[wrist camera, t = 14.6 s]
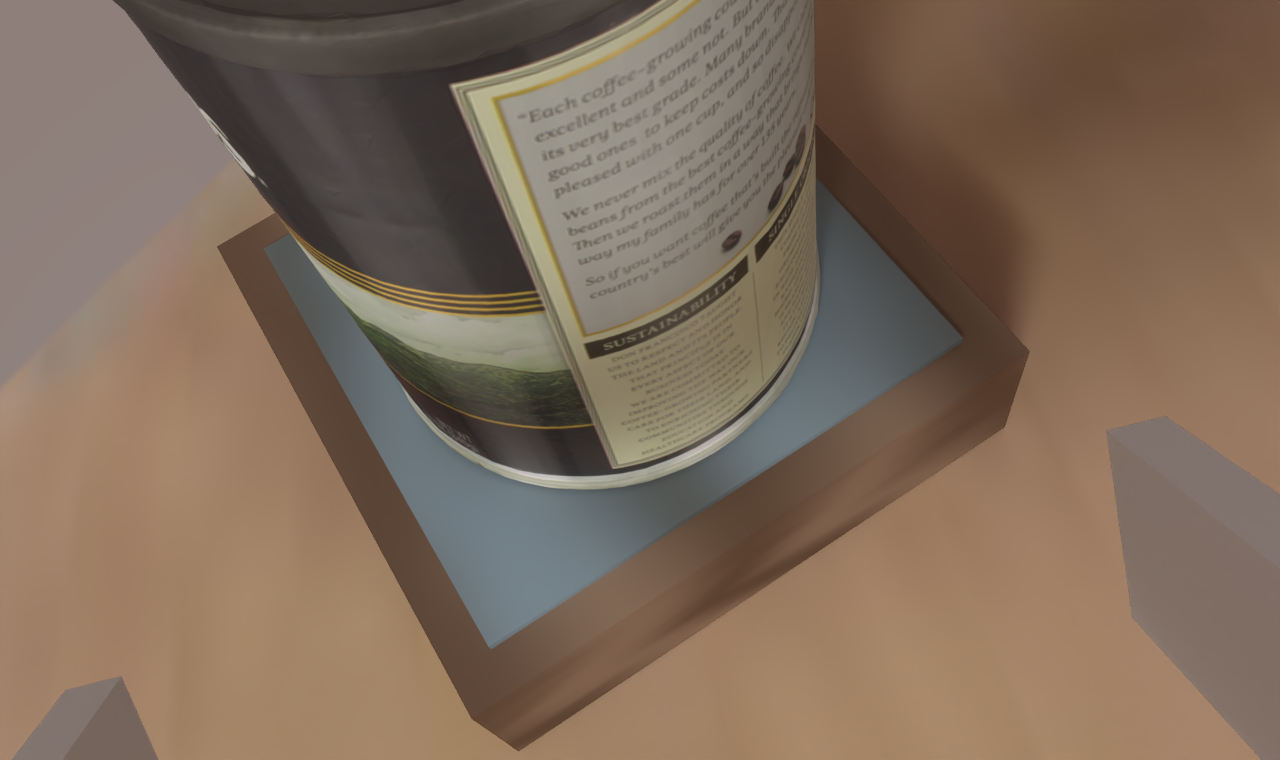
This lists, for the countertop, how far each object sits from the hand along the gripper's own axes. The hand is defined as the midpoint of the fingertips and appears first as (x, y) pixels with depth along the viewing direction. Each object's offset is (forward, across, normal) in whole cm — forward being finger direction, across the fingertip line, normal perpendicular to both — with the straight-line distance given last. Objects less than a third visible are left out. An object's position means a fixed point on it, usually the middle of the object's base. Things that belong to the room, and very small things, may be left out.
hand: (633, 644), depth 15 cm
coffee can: (+13, 0, +2) cm, 13 cm away
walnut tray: (+16, 0, -1) cm, 16 cm away
